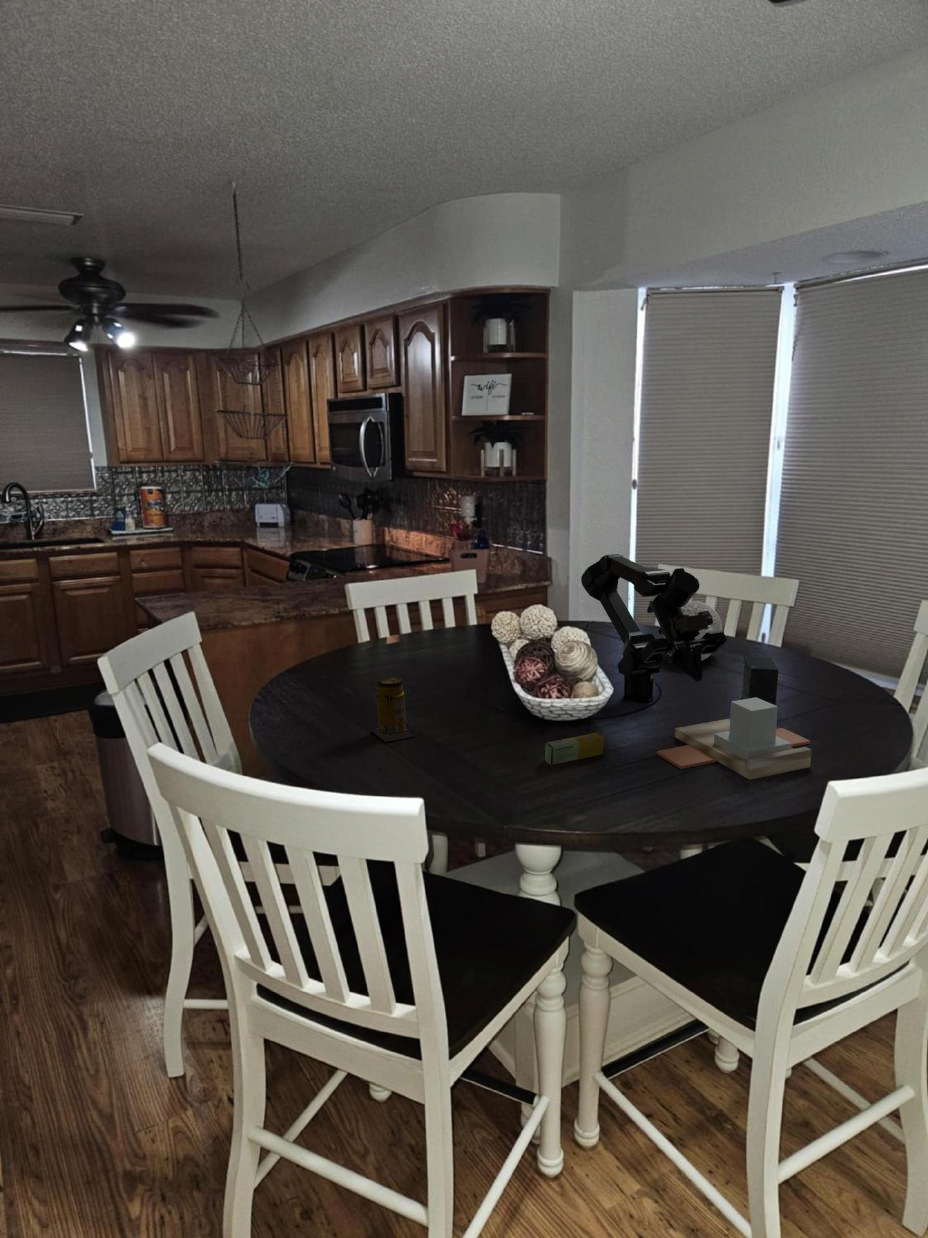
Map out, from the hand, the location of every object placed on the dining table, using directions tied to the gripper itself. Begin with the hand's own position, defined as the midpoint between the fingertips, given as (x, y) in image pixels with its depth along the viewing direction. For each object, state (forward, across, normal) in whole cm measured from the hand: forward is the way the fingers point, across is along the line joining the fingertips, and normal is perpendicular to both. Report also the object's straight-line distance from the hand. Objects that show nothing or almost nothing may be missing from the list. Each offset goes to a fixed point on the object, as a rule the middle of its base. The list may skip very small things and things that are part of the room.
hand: (699, 680), depth 167 cm
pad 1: (+16, -12, -1) cm, 20 cm away
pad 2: (+16, +12, -1) cm, 20 cm away
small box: (+3, +22, +13) cm, 26 cm away
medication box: (+10, -31, +6) cm, 33 cm away
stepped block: (+18, 0, -6) cm, 19 cm away
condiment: (-9, -61, +25) cm, 67 cm away
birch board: (+17, 0, -2) cm, 17 cm away
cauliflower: (-25, +33, +41) cm, 58 cm away
